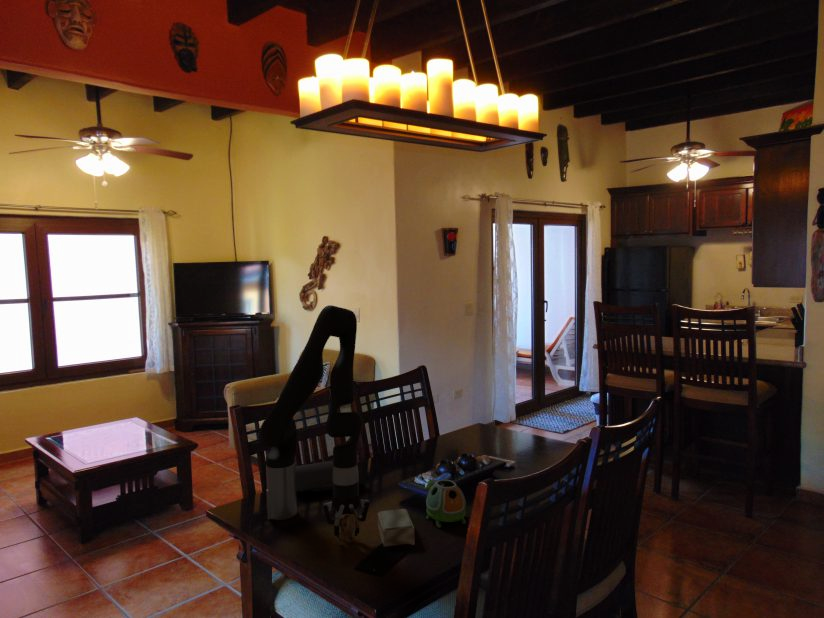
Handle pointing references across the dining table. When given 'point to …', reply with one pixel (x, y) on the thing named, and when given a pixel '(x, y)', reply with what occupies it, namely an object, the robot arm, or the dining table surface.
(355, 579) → the dining table surface
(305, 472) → the bluetooth speaker
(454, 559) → the dining table surface
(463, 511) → the turtle holder
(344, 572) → the dining table surface
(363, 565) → the cell phone
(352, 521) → the lion figurine
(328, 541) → the dining table surface
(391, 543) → the plinth
